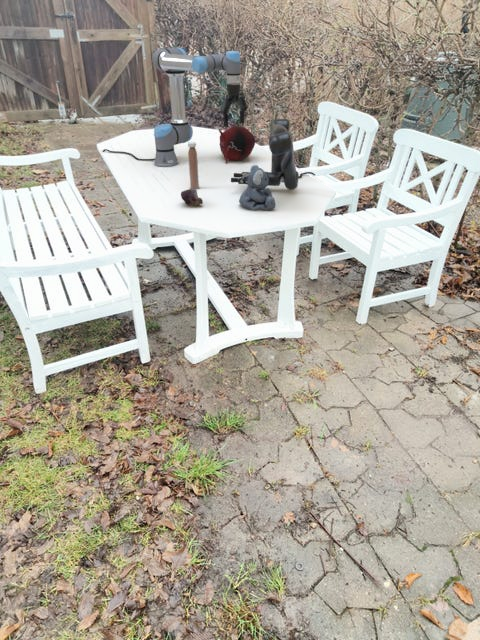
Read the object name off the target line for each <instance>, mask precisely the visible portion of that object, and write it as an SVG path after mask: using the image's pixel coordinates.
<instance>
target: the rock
mask: <svg viewBox="0 0 480 640" xmlns="http://www.w3.org/2000/svg"><path fill="white" fill-rule="evenodd" d="M180 197H181V200H182V201H183V202H184V203H185V205H187V206H189V207H191V206H192V207H193V206H201V205H203V204H204V202H203V199H202V197H199V195H198V189H191V188H188V189H185V190H181V192H180Z"/></svg>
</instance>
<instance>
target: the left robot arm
mask: <svg viewBox="0 0 480 640" xmlns="http://www.w3.org/2000/svg"><path fill="white" fill-rule="evenodd" d="M151 61H152V64H153V67H154V68H155V69H157V70H158V71H161V72H165V74H166V75H167V76H168V83H169V95H170V107H171V120H170V121H169V123H161V124H158V125H156V126H155V127H154V129H153V136H154V145H155V155H154V158H140V157H139V158H138V157H137V156H135V155H134V154H133V153H131V152H127V151H122V150H121V151H120V150H119V151H116V150H115V151H114V150H109V149H106V148H104V149H103V150H102V153H104V152H106V151H107V152H109V153H113V154H114V153H116V154H126V155H130V156H131V157H133V158H134V159H135V160H137V161H154V165H155V166H157V167H163V168H164V167H165V168H167V167H168V168H169V167H174V166H177V165H178V164H179V159H178V157H177V153H176V151H175V145H180V144H185V143H188V142H190V141H191V140H192V139H193V135H194V130H193V129H194V128H193V127H192V125H191V123H189V120H188V119H187V117H186V116H187V115H186V103H185V90H184V88H185V87H184V75H185V74H186V71H187V72H194V73H196V74H203V73H210V72H218V71H222V72H226V91H227V94H223V99H222V103H221V107H220V111H219V114H221V115H222V121H223V127H224V128H229V114H228V113H229V110H230V108H231V106H232V105H233V104H234V103H236V104H237V107H238V108H239V109H240V110H239V123H240V124H245V116H246V112H247V110H248V105H247V101H246V99H245V94H244V92H243V91H241V52H240V51H238V50H228V51H226V53H225V54H219V53H216V54H215V53H214V54H211V55H189V54H187V52H186V51H185V50H184V49H183V48H182V47H180V46H179V47H176V46H175V47H162V48H158V49H156V50H155V51H154V52H153V54H152V59H151Z"/></svg>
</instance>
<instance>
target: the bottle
mask: <svg viewBox="0 0 480 640" xmlns="http://www.w3.org/2000/svg"><path fill="white" fill-rule="evenodd" d="M187 152H188V153H187V155H188V156H187V157H188V168H189V183H190V189H196V190H198V189H200V184H199V183H200V181H199V180H200V179H199V165H198V152H197V149H196V146H195V147H188V151H187Z"/></svg>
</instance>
